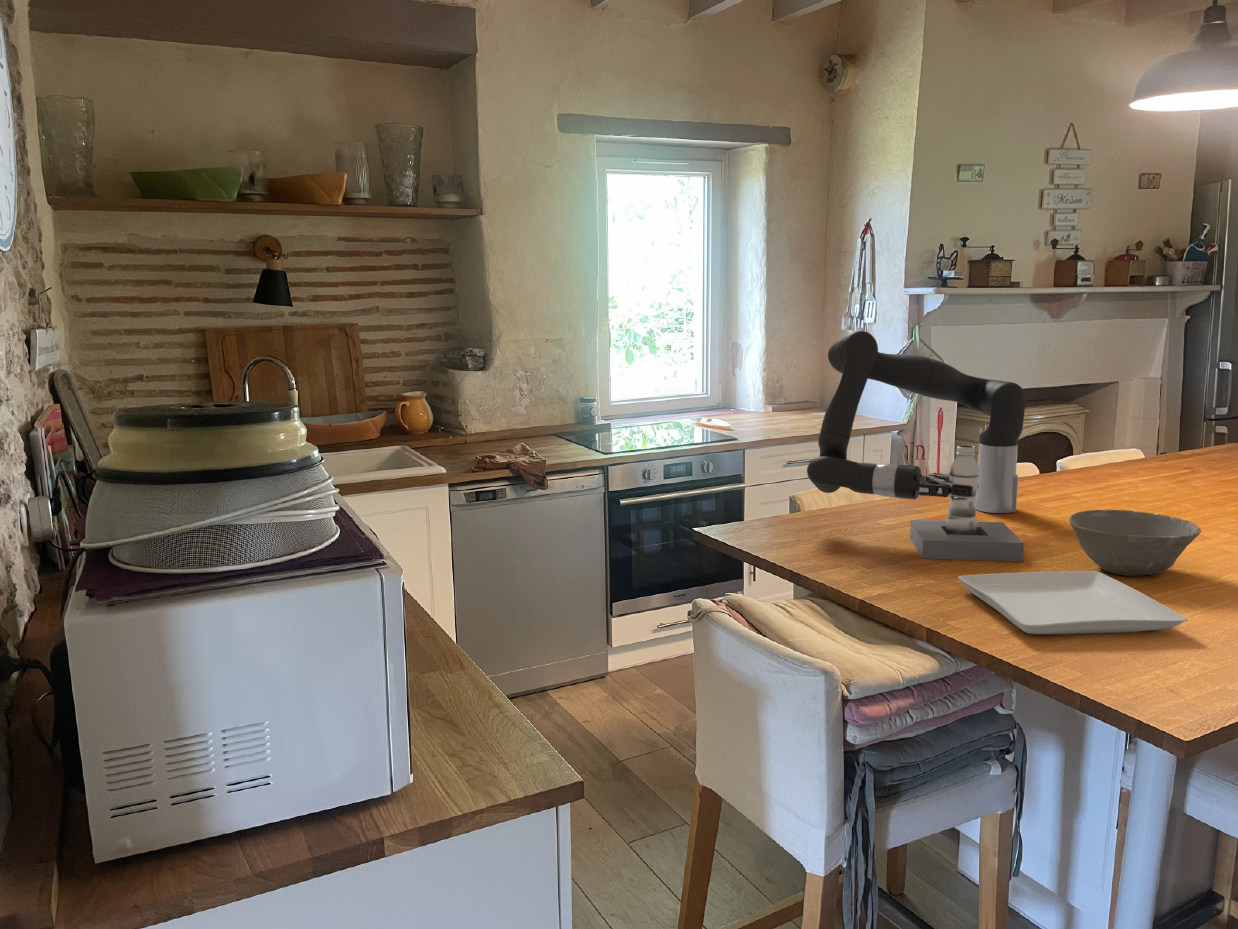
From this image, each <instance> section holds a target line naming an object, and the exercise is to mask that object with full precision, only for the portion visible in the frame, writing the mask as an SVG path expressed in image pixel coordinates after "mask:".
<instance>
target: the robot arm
mask: <svg viewBox="0 0 1238 929" xmlns="http://www.w3.org/2000/svg"><path fill="white" fill-rule="evenodd" d="M827 358H828V362H829V364H830V365H831V367H832V369H834V370H835V371H837V372H838V373H840V374H841V377H840V381H839V383H838V386H837V389H836V390H835V392H834V395H833V397H832V398H831V400H830V402H829V404H828V407H827V408H826V411H825V413H824V415H823V416H824V417H823V420H822V424H821V428H820V432H819V435H818V440H817V442H818V444H817V445H818V447H819V448H818V449H819V456H818V457H815V458H814V459H812V460H811V461H810V462H809V464H808V465H807V468H806V474H807V477H808V479H809V481H810V482H812V484H813V485H814V486H815V487H816V488H817V489H818V490H819V491H820V492H822V493H826V494H832V493H834V492H837V491H838V490H839V489H840V488H845V489H849V490H850V491H852V492H854V493H858V494H866V495H867V494H868V495H875V496H876V495H877V496H882V497H885V498H897V499H907V500H917V499H918V498H919V496H922V497H923V496H926V497H938V498H939V497H941V498H948V497H950V496H952V495H953V494H954V495H961V496H971V495H972V492H973V487H972V486H969V485H958V484H952V483H950V477H949V475H950V474H949V473H948V474H947V473H945V474H944V473H937V472H933V473H928V475H922V470H921V468H920V466H918V465H909V464H899V463H897V464H895V463H871V462H857V461H853V460H850V459H847V458H848V455H847V454H848V447H849V443H850V439H851V435H852V431H853V427H854V423H855V422H854V421H855V418H856V415H857V411H858V406H859V404H860V401H861V398H862V395H863V392H864V390H865V387H866V386H867V382H868V380H872V381H876V382H880V383H883V384H886V385H889V386H893V387H894V388H898V389H902V390H906V391H908V392H911V393H914V394H918V395H921V396H924V397H928V398H932V399H936V400H942V401H948V402H950V401H951V402H954V403H955V402H956V403H959V404H962V405H964V406H966V407H969V408H971V409H973V410H976V411H978V412H980V413H981V414H984V415H986V416H989V424H988V427H987V428H986V429H984V430H982V431H980V433H979V437H978V454H977V464H978V466H979V468H980V476H979V481H978V486H977V493H976V511H979V512H982V513H983V512H985V513H989V514H990V513H991V514H1009V513H1016V512H1017V502H1018V501H1017V500H1018V499H1017V498H1018V487H1019V486H1018V485H1019V475H1018V474H1017V466H1018V465H1017V464H1018V450H1019V449H1018V448H1019V439H1020V436H1021V435H1022V432H1023V430H1024V429H1023V428H1024V421H1025V420H1024V419H1025V411H1026V395H1025V391H1024V390H1023V388H1022V387H1021V386H1020V385H1019V384H1018V383H1015V382H1012V381H1005V380H997V379H987V378H982V377H979V376H972V375H968V374H966V373H963V372H961V371H960V370H958V369H956V368H955V367H954V366H952V365H950V364H948V363H946V362H942V361H940V360H937V359H934V358H931V357H927V356H923V355H918V354H905V353H904V354H902V353H900V354H899V353H884V352H880V351H879V347H878V343H877V340H876V339H875V336H873V335H872V334H871V333H870V332H868V331H865V330H856V331H853V332H850V333H848V334H846V335H844V336H843V337H840V338H839V339H837V340H836V341H835V342H833V343H832V345H831V346H830V347H829V349H828V352H827ZM953 485H954V486H953Z"/></svg>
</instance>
